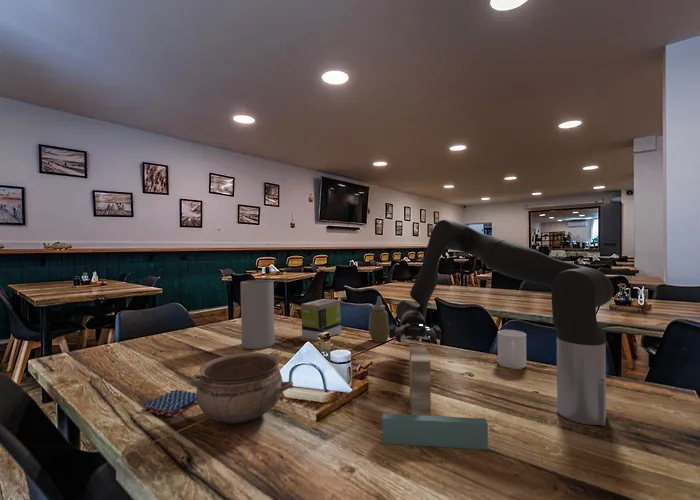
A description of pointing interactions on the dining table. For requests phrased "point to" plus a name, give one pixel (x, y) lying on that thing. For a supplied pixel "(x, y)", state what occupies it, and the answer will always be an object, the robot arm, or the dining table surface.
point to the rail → (435, 431)
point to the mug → (512, 349)
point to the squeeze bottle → (379, 322)
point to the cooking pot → (239, 387)
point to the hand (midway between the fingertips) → (415, 339)
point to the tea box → (320, 318)
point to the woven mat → (172, 403)
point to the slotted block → (420, 381)
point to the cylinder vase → (257, 314)
